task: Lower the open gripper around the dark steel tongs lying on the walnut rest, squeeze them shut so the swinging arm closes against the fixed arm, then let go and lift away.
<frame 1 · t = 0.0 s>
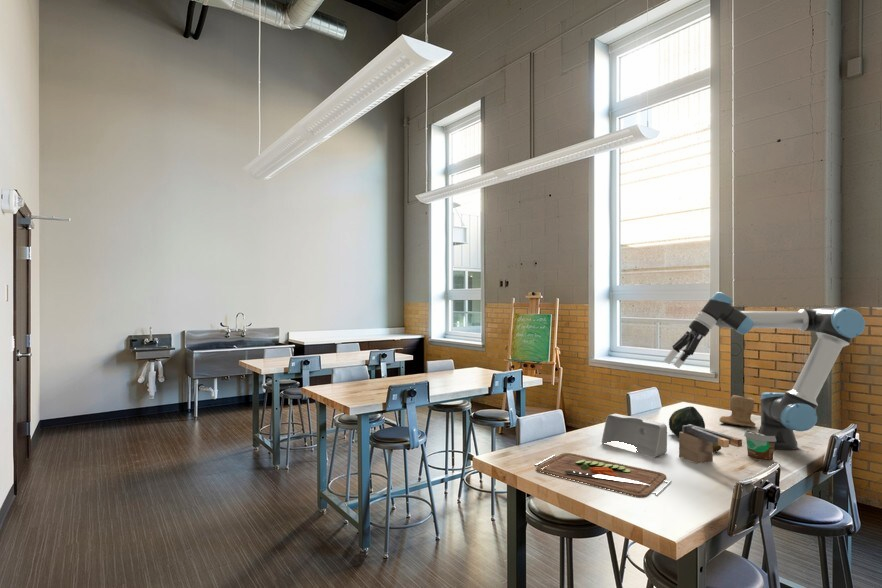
hand: (670, 364, 216), 36 cm above the table, tool tilted 35°, fingers open, 13 cm apart
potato: (702, 450, 214), on the table
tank: (637, 448, 217), on the table
squash: (687, 436, 236), on the table
brown upright flared piece: (738, 425, 257), on the table
tong rest: (692, 457, 203), on the table
chopping board: (600, 475, 184), on the table
food container: (756, 458, 204), on the table
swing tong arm: (706, 435, 193), point 12 cm above the table, hinge at -10.0°
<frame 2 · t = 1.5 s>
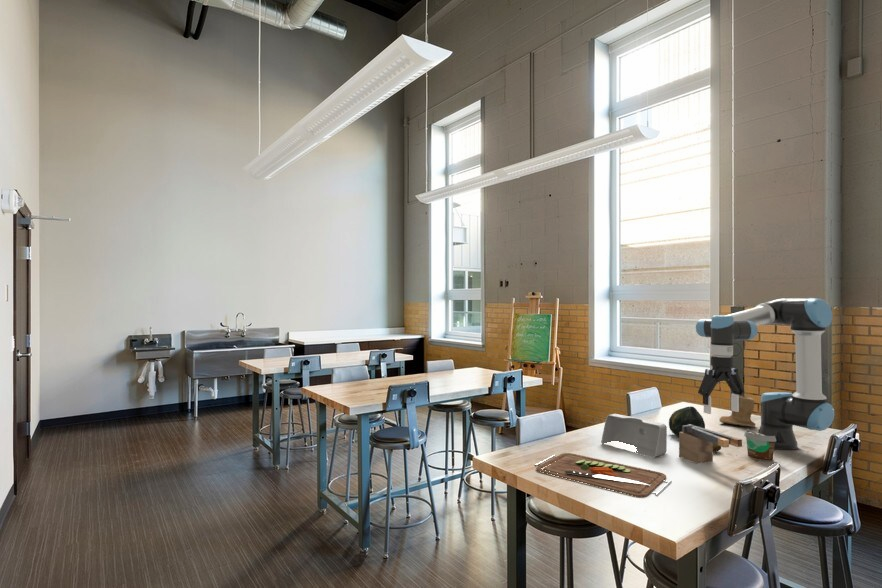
hand: (721, 412, 191), 21 cm above the table, tool pointing down, fingers open, 13 cm apart
nothing on the table moved.
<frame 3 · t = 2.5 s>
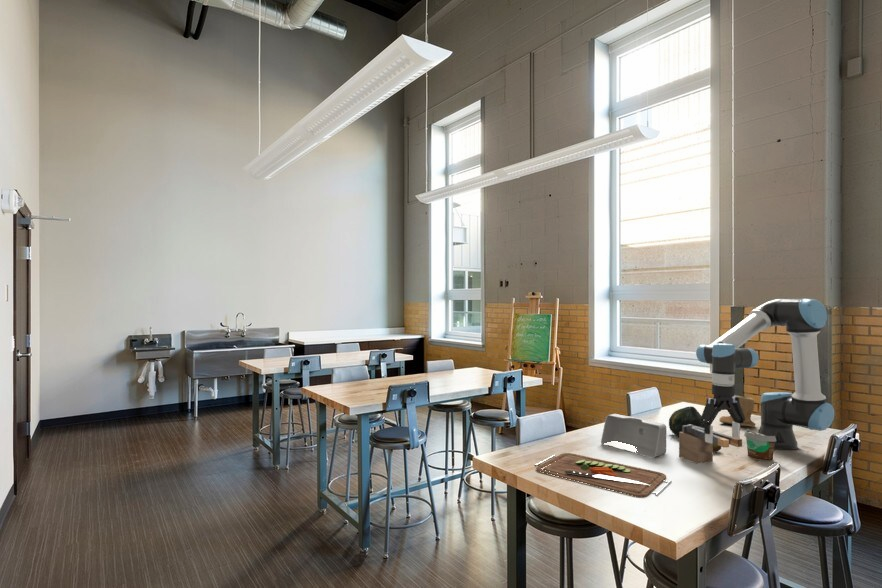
hand: (722, 441, 190), 10 cm above the table, tool pointing down, fingers open, 13 cm apart
nothing on the table moved.
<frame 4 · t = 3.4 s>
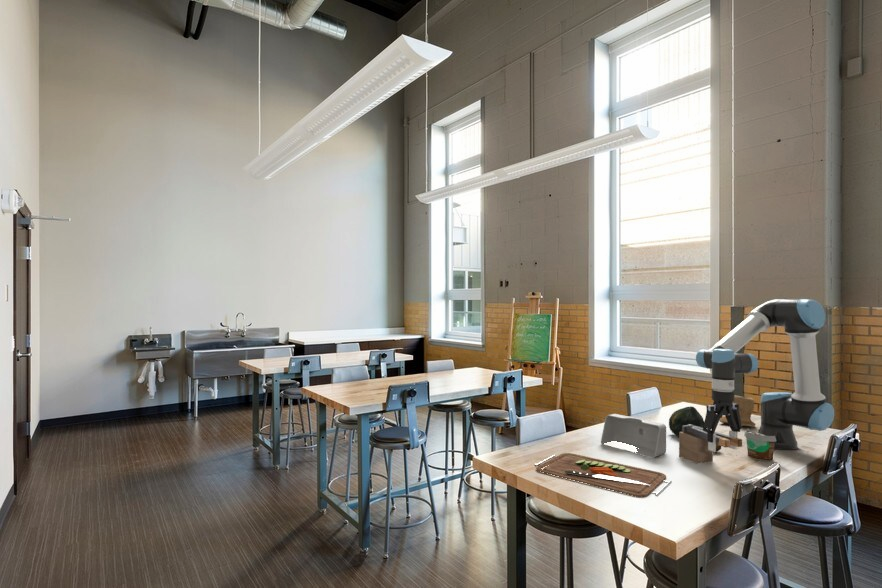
hand: (722, 449, 190), 7 cm above the table, tool pointing down, fingers open, 10 cm apart
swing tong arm: (706, 435, 193), point 12 cm above the table, hinge at -8.8°, touching gripper
everything else where it was.
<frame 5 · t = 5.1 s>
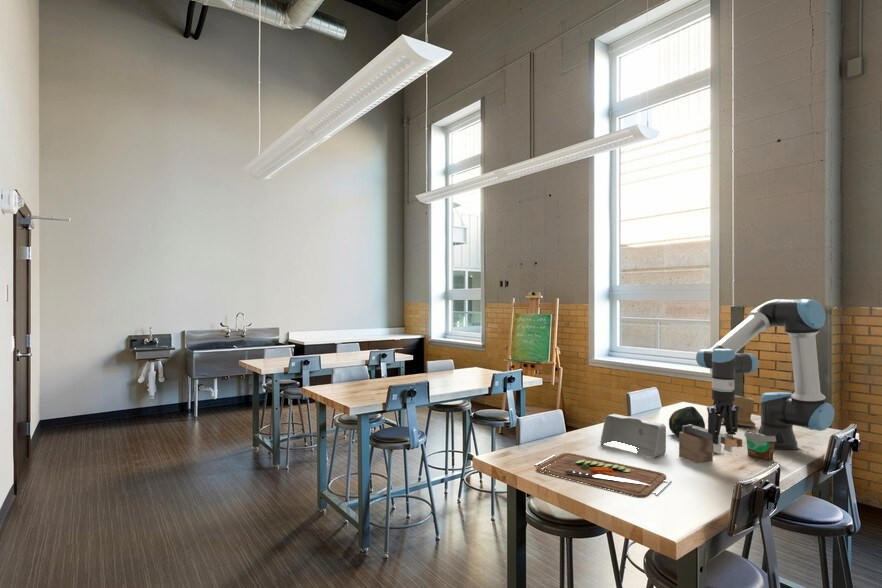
hand: (722, 451, 190), 7 cm above the table, tool pointing down, fingers open, 5 cm apart
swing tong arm: (710, 434, 194), point 12 cm above the table, hinge at 0.7°
everything else where it was.
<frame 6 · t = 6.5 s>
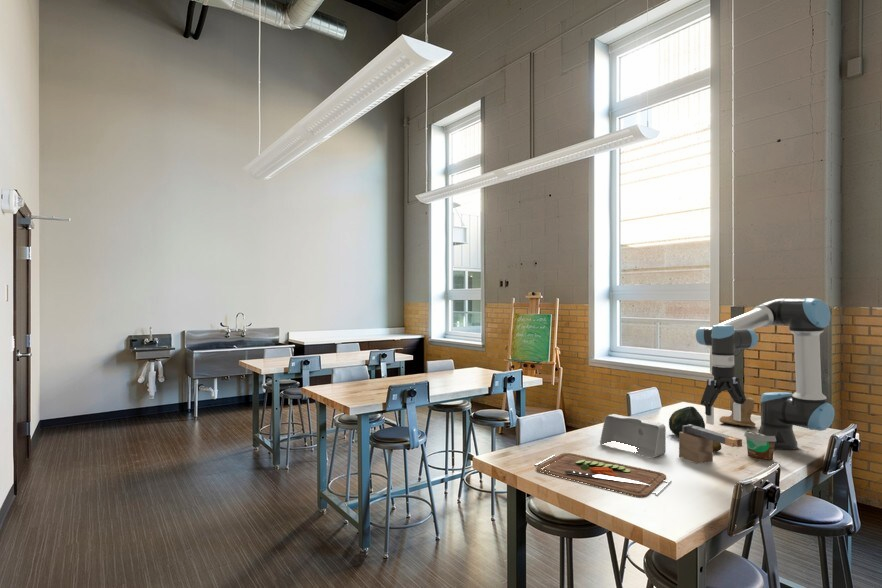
hand: (723, 422, 190), 18 cm above the table, tool pointing down, fingers open, 13 cm apart
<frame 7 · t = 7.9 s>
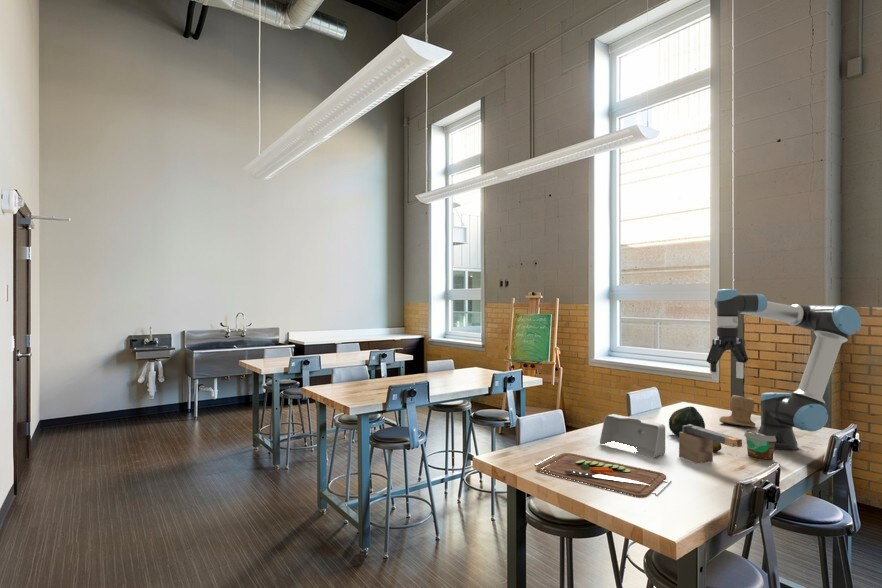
hand: (727, 379, 205), 31 cm above the table, tool pointing down, fingers open, 13 cm apart
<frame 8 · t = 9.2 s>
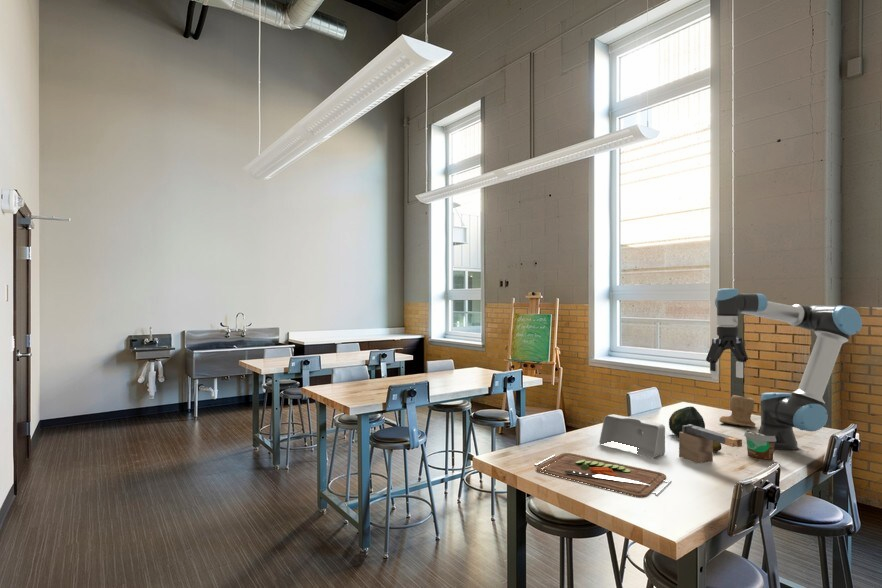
hand: (727, 378, 205), 32 cm above the table, tool pointing down, fingers open, 13 cm apart
at the end: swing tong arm at +1° (first picture: -10°); the gripper is holding nothing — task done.
